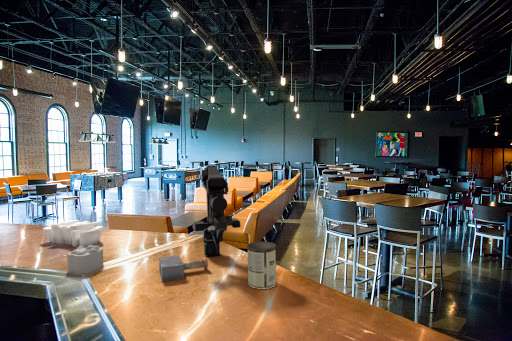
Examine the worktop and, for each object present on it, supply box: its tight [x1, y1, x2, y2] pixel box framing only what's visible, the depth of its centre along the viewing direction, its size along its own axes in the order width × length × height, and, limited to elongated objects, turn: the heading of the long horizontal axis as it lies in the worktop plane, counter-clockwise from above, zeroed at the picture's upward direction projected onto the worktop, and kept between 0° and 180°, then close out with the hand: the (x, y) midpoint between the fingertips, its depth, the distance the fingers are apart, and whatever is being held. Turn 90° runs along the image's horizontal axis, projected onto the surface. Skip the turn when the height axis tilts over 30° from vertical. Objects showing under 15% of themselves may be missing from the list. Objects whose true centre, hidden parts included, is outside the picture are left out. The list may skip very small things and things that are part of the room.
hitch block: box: [158, 255, 185, 282], centre depth 122 cm, size 8×12×5 cm, turn 22°
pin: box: [182, 256, 209, 271], centre depth 125 cm, size 13×5×5 cm, turn 112°
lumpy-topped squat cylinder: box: [67, 244, 104, 275], centre depth 130 cm, size 10×13×9 cm
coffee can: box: [246, 240, 277, 290], centre depth 113 cm, size 10×10×14 cm
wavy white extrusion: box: [42, 219, 104, 248], centre depth 169 cm, size 35×16×11 cm, turn 64°
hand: (217, 245), depth 129 cm, fingers closed
